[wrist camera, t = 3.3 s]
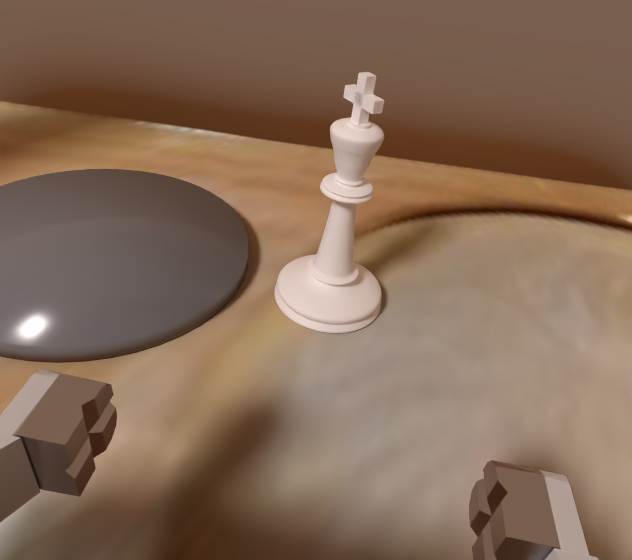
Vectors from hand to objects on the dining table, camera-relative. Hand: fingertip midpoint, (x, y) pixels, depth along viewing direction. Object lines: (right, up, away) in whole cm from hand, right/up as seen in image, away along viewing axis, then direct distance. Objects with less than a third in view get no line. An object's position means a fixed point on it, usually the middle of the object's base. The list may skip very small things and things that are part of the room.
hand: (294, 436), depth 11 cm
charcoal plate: (-10, +5, +13) cm, 17 cm away
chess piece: (+1, +2, +13) cm, 13 cm away
